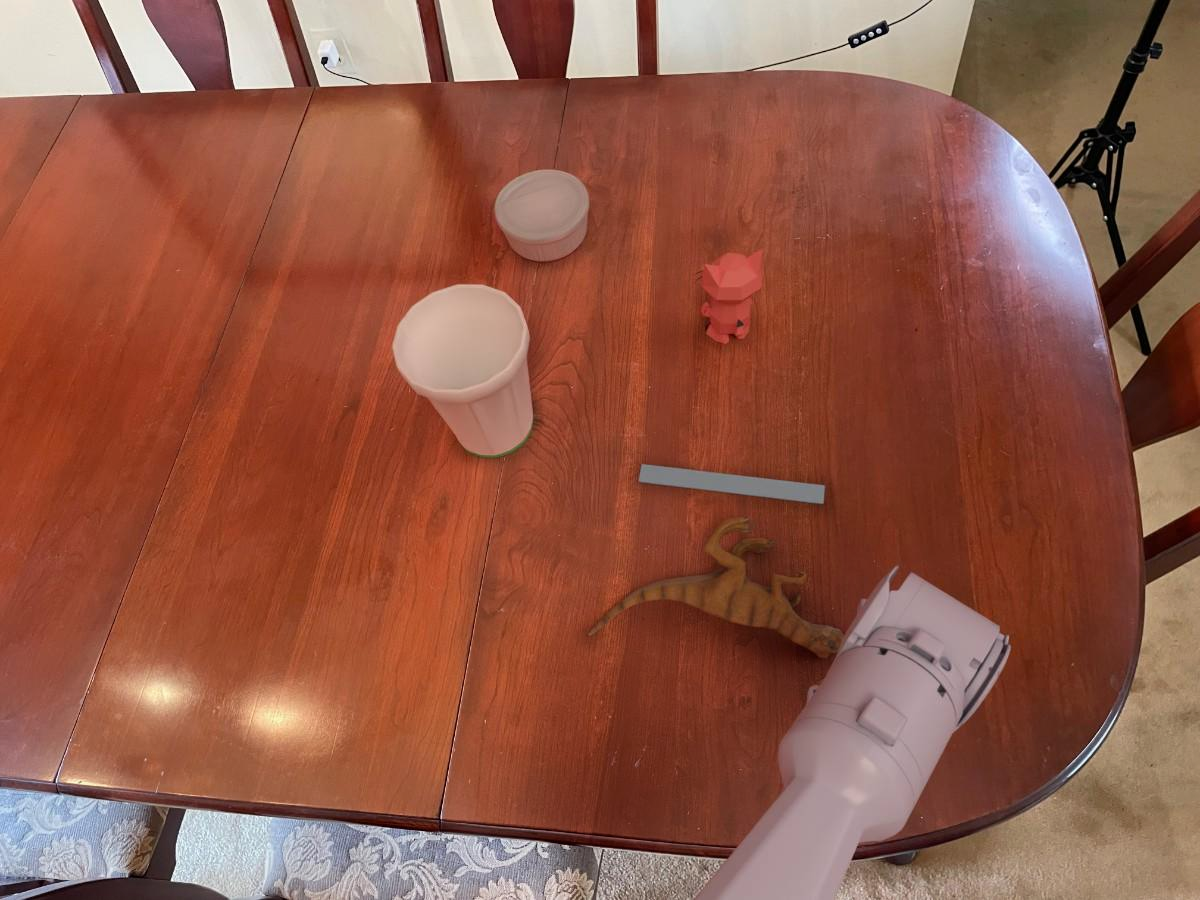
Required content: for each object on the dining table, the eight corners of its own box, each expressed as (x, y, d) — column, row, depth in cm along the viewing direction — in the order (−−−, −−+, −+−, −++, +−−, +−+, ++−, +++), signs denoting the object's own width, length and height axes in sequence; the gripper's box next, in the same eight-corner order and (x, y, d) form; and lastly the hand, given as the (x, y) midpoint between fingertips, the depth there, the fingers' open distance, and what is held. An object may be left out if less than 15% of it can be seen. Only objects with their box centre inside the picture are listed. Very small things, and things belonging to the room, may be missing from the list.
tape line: (823, 504, 81) (823, 503, 81) (638, 482, 84) (638, 481, 84) (824, 486, 82) (824, 485, 82) (641, 464, 85) (641, 463, 85)
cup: (531, 486, 85) (500, 405, 72) (419, 462, 88) (369, 379, 75) (567, 386, 91) (545, 293, 78) (461, 366, 94) (422, 273, 81)
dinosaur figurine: (852, 566, 78) (835, 694, 73) (618, 520, 83) (587, 637, 77) (864, 538, 72) (847, 674, 67) (611, 490, 77) (577, 614, 72)
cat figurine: (750, 300, 94) (756, 221, 84) (772, 347, 91) (781, 271, 80) (689, 316, 94) (688, 240, 84) (709, 364, 91) (710, 291, 80)
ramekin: (542, 188, 106) (535, 155, 102) (612, 224, 102) (608, 191, 98) (483, 245, 103) (473, 213, 98) (553, 284, 98) (546, 252, 94)
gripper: (823, 567, 53) (801, 633, 65) (807, 813, 46) (785, 837, 58) (941, 583, 52) (896, 647, 64) (942, 838, 45) (892, 858, 57)
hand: (850, 739), depth 61 cm, fingers closed
